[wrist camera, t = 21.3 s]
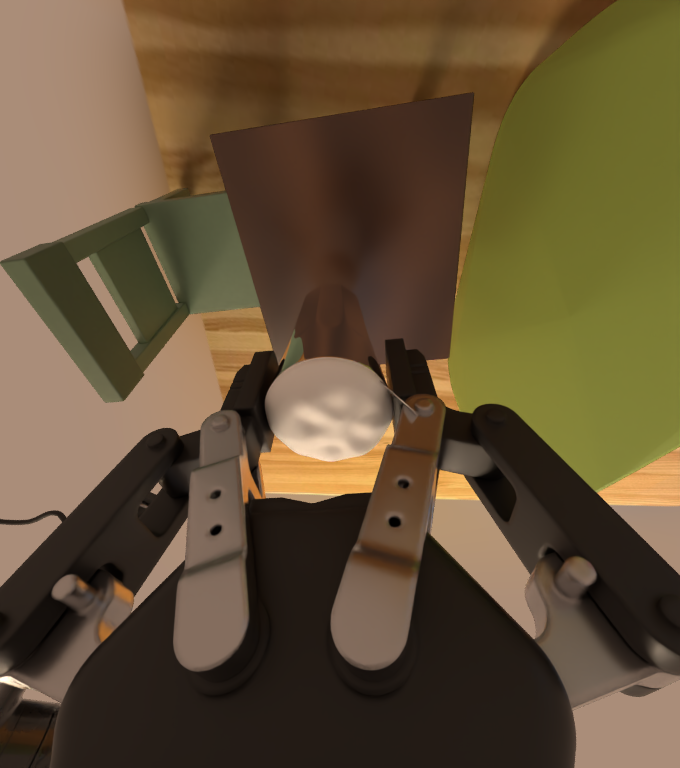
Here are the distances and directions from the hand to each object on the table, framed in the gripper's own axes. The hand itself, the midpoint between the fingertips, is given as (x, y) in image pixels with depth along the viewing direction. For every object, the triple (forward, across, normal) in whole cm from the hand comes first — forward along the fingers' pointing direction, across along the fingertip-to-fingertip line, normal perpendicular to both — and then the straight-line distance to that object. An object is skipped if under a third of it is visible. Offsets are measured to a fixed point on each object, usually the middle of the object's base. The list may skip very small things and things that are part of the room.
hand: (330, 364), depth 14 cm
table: (+20, -1, -1) cm, 20 cm away
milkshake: (+5, 0, 0) cm, 5 cm away
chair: (+20, +9, -1) cm, 22 cm away
